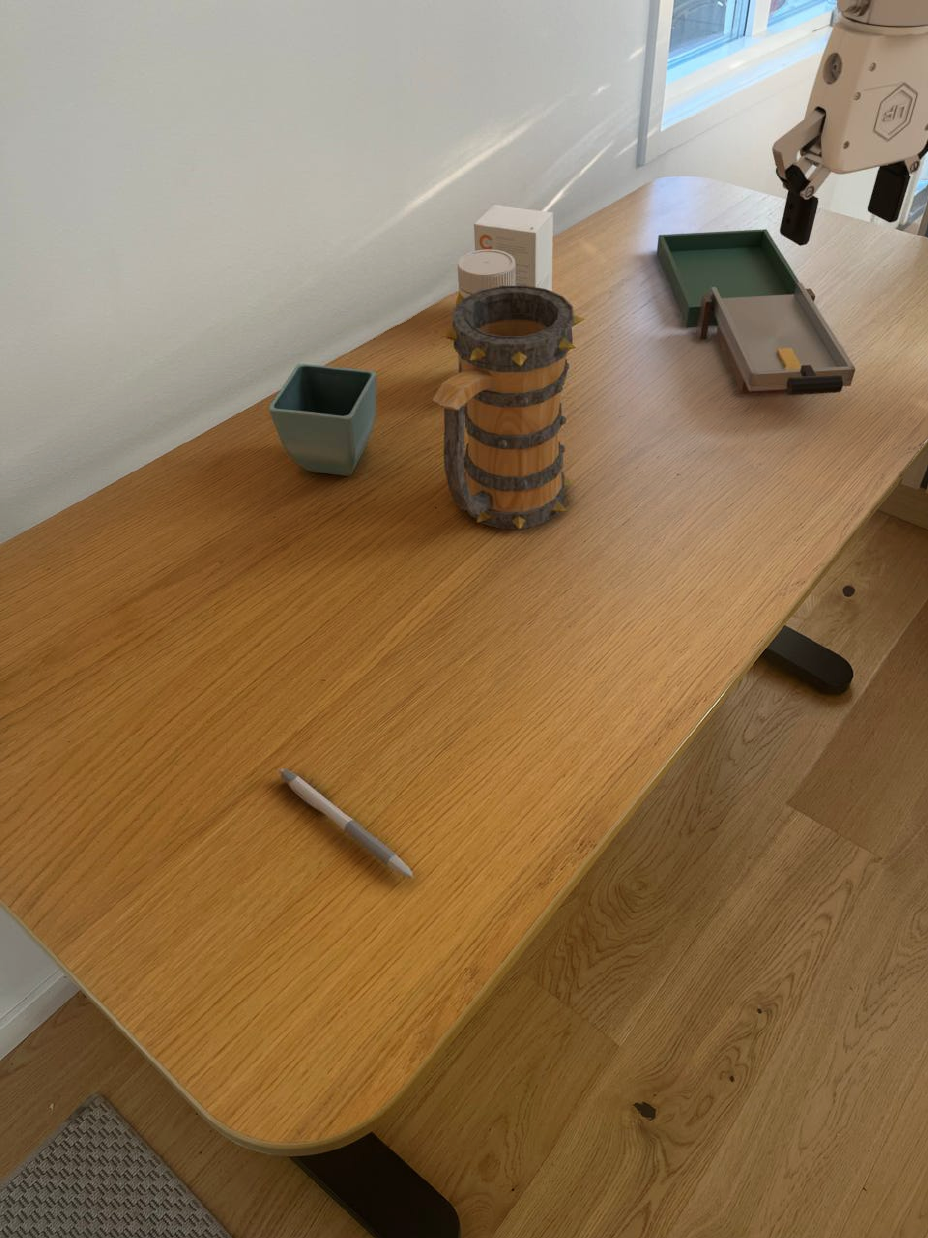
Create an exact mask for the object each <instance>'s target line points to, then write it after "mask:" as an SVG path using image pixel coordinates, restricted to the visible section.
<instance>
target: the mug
mask: <svg viewBox="0 0 928 1238" xmlns="http://www.w3.org/2000/svg"><path fill="white" fill-rule="evenodd" d="M451 318H452V319H451V323H452V328H451V329H449V330H448V331H446V332H444V333H443V334H441V335H440V337H442V338H443V339H444V338H445V339H448V340H450V341H453V343H452V344H453V349H454V350H455V352H456V353H457V355H458V354H459V356H460V364H459V363H458V373H456V374H454V375H452V376H451V377H449V378H448V379H446V380H445V381H443V382H442V383H441V385H440V386H439V388H438V389H437V390H436V392H435V394H434V396H433V398H432V401H434V402H435V403H436V404H438V405H439V407H441V408H443V423H444V426H443V428H444V430H443V465H444V467H443V469H444V474H445V477H446V481H447V486H448V490H449V492H450V494H451V498H452V499H453V501H454V503H455V505H456V506H457V508H458V509H459V510H465V511H467V513H468V515H469V516H471V517H472V518H473V519H475V520H476V524H478V523H481V524H483V525H486V526H490V527H492V528H497V529H501V530H525V529H529V528H533V527H536V526H540V525H544V524H545V523H547V522H548V521H550V520H551V519H552V518H554V517H555V516H557V515H558V514H559V513H560V512H567V509H566V508H565V507H564V504H565V490H566V486H568V485H570V484H573V483H574V482H575V480H573V479H569V478H566V477H565V474H564V472H563V470H562V469H563V467H564V453H565V452H566V447H565V445H564V444H561V442H560V441H559V431H560V429H561V427H562V426H564V425H565V424H566V422H567V418H566V416H564V415H563V410H562V409H563V408H562V407H563V406H562V402H561V393H562V391H563V387H564V384H565V382H566V379H567V374H568V371H569V370H570V363H568V359H567V354H568V353H569V352H570V350H574V349H576V348H577V347H576V346H575V345H574V343H573V342H574V339H573V329H572V328H573V327H574V326H576V325H579V323H582V322H583V321H585V320H586V319H585V318H582V317H579V316H577V315H574V307H573V305H572V304H571V303H570V302H569V301H568V300H567V299H566V298H565V297H564V296H563V295H561V294H558V293H556V292H553V291H552V290H551V291H549V290H547V289H543V288H537V287H531V286H526V285H515V286H498V287H494V288H489V289H484V290H480V291H478V292H476V293H474V294H472V295H470V296H467V297H465V298H463V300H462V301H461V302H460V303H459V304H458V305H457V306H456V305H455V306H454V308H453V311H452V317H451ZM465 429H466V433H467V443H466V445H465V450H464V443H465V441H464V440H465Z"/></svg>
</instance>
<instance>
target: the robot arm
mask: <svg viewBox="0 0 928 1238" xmlns="http://www.w3.org/2000/svg"><path fill="white" fill-rule="evenodd" d="M836 8H837V10H838V12H839V13H840V17H839V21H837V22H835V23H834V25H833V27H832V30H831V32H830V34H829V37H828V40H827V42H826V44H825V47H824V50H823V52H822V56H821V58H820V61H819V65H818V68H817V71H816V74H815V77H814V81H813V84H812V88H811V91H810V94H809V99H808V101H807V105H806V110H805V114H804V119H802V120H801V121H800V122H799V123H797V124H796V125H794V126H793V127H792V128H791V129H790V130H788V131H787V132H786V133H785V134H783V135H782V136H781V137H780V138H778V139H776V141H775V142H774V143H773V145H772V148H771V149H772V151H771V152H772V155H773V160H774V165H775V167H776V168H775V174H776V176H777V177H778V178H779V180H780V182H781V183H782V188H783V189H785V190H787V195H786V199H785V203H784V207H783V208H784V209H783V213H782V218H781V223H780V228H779V234H780V235H781V236H783V237H784V238H786V239H787V240H789V241H791V242H793V243H795V244H796V245H798V246H806V245H807V244H808V243H809V242H810V240H811V235H812V232H813V231H812V230H813V226H814V222H815V218H816V214H817V209H818V205H819V197H817V196H815V194H816V192H817V191H818V190H819V189H820V188H821V186H822V185H823V184H824V183H825V181H826V179H828V177H829V176H830V175H831V173H833V174H834V175H847V174H852V173H857V172H861V171H866V170H870V169H875V168H878V170H877V171H876V176H875V180H874V183H873V187H872V190H871V194H870V198H869V201H868V205H867V211H868V212H869V213H870V214H872V215H873V216H876V217H878V218H879V219H881V220H883V221H885V222H887V223H894V222H897V221H898V219H899V216H900V214H901V211H902V206H903V204H904V200H905V197H906V193H907V190H908V188H909V187H908V186H909V184H910V180H911V177H912V176H911V175H914V174H915V173H917V171H919V169H920V167H921V160H922V159H923V158H924V157H925V156H926V154H927V153H928V0H837V1H836ZM798 153H799V155H800V157H799V158H797V157H798ZM812 166H814V167H816V168H815V169H813V172H811V174H810V175H809V177H807V176H806V174H807V173H808V172H809V171H810V170H811V168H812Z"/></svg>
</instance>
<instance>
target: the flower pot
mask: <svg viewBox="0 0 928 1238" xmlns="http://www.w3.org/2000/svg"><path fill="white" fill-rule="evenodd" d="M268 411H269V413H270V417H271V419H272V422H273V425H274V427H275V430H276V432H277V435H278V437H279V440H280V442H281V444H282V447H283V448H284V449H285V451H286V453H287V454H288V455H289V457H290V458H291V459H292V460H293V461H294V462H295V463H296V464H297V465H298V466H300V467H301V468H303V469H304V470H305V471H307V472H311V473H321V474H330V475H338V476H345V477H347V476H350V475H352V474H353V472H354V470H355V468H356V466H357V465H358V462H359V460H360V458H361V457H362V454H363V453H364V451H365V449H366V446H367V444H368V442H369V440H370V437H371V435H372V433H373V430H374V429H373V428H374V426H375V420H376V416H377V415H376V413H377V372H376V371H374V370H369V369H359V368H357V369H356V368H346V367H337V366H336V367H335V366H326V365H318V364H308V363H298V364H297V365H296V366H294V368H293V370H292V371H291V373H290V375H289V377H288V378H287V379H286V381H285V383H284V384H283V385H282V386H281V388H280V390H279V391H278V392H277V395H276V396H275V398H273V400H272V402H271V403H270V405H268Z"/></svg>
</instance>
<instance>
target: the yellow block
mask: <svg viewBox="0 0 928 1238" xmlns="http://www.w3.org/2000/svg"><path fill="white" fill-rule="evenodd" d="M777 353H778V355H779V357H780V359H781V361H782V363H783V365H784V366H785V369H784V370H791V369H801V365H800V363H799V361H798V359H797V357H796V355H795V354H794V352H793V350H792V348H783V349H777Z"/></svg>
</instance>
